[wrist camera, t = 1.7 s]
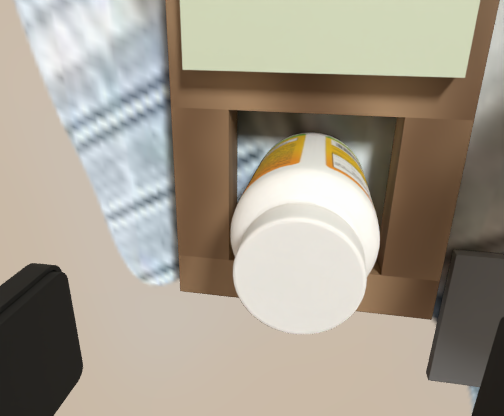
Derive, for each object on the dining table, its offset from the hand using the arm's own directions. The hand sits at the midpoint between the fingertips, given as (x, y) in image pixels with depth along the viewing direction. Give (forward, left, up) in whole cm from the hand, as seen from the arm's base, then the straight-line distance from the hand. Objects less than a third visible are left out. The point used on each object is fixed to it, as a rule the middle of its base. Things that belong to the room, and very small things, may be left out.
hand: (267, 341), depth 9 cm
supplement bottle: (0, 0, -13) cm, 13 cm away
